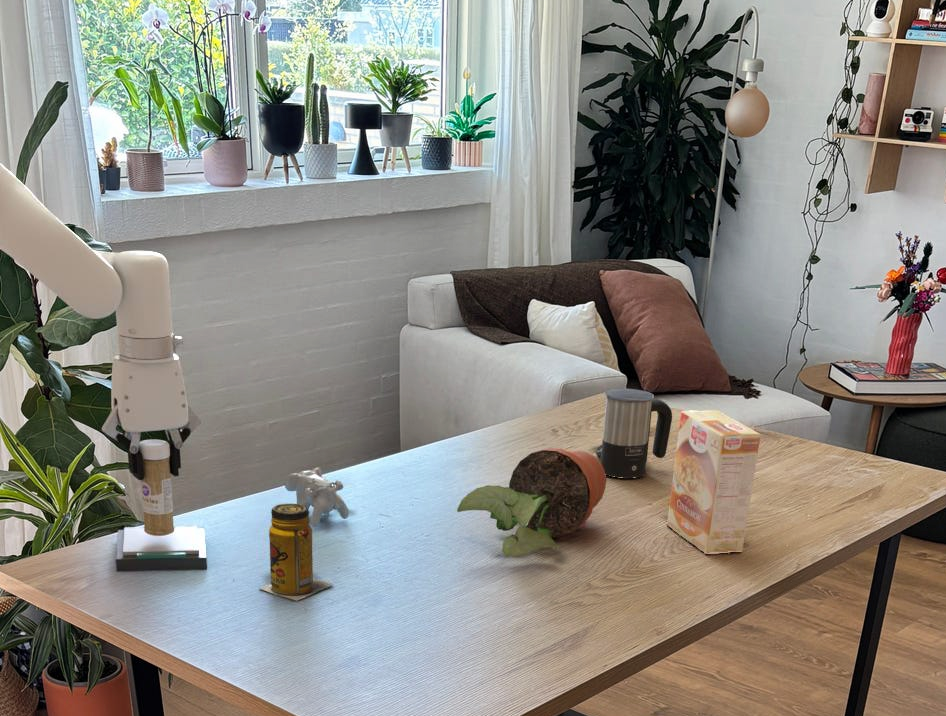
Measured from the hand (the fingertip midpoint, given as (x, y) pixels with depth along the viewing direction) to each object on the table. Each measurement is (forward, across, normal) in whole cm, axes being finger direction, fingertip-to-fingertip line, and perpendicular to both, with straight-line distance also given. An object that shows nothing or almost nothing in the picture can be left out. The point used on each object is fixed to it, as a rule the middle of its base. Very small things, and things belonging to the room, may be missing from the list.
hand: (155, 474), depth 191 cm
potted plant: (+12, -56, +20) cm, 60 cm away
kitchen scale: (+12, 0, 0) cm, 12 cm away
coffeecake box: (+12, -83, +29) cm, 89 cm away
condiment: (+12, -13, +21) cm, 28 cm away
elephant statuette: (+12, -28, -6) cm, 31 cm away
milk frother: (+12, -96, -11) cm, 97 cm away
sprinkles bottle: (+9, 0, 0) cm, 9 cm away
